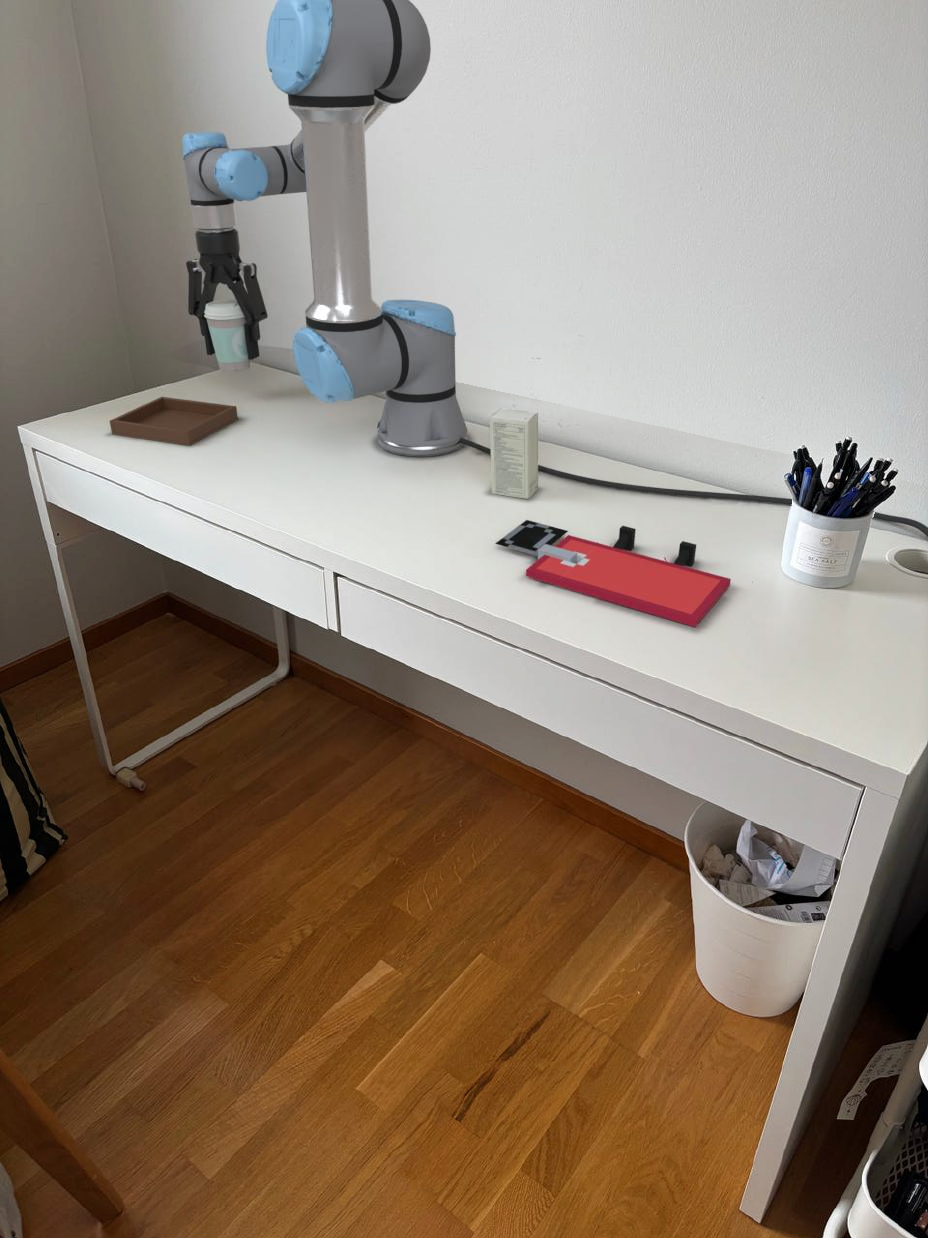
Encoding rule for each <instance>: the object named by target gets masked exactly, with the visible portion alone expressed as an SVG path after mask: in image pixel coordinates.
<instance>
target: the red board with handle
mask: <svg viewBox="0 0 928 1238" xmlns="http://www.w3.org/2000/svg"><path fill="white" fill-rule="evenodd" d="M568 532H569V530H567V529H562V528H558V527H555V526H551V525H547V524H544V523H540V522H536V521H533V520H528V519H525V520H524V521H522V523H521V524H519V525H518V526H516V527H515V528H514V529H512V530H511V531H510V532H508V533H507V534H506V535H504V536H503V537H502V538H500V539H499V540H498V541H496V542H495V543H494V544H495V545H497V546H502V547H505V548H507V549H511V550H515V551H519V552H522V553H526V554H529V555H532V556H536V557H537V560H536V561H535V562H533V563H532V564H531V565H530V566H528V567H527V568H526V569H525V577H527V578H531V579H533V580H536V581H541V582H544V583H547V584H550V585H554V586H557V587H561V588H564V589H567V590H571V591H573V592H576V593H579V594H580V593H581V594H584V595H587V596H591V597H593V598H596V599H600V600H604V601H606V602H611V603H613V604H617V605H620V606H624V607H627V608H630V609H634V610H637V611H641V612H643V613H647V614H651V615H653V616H657V617H660V618H663V619H666V620H670V621H673V622H677V623H680V624H683V625H686V626H690V627H694V628H696V627H698V625H699V623H701V621H702V620H703V619H704V618H705V616H706V615H707V614H708V613H709V611H710V610H711V609H712V608H713V606H715V604H716V603H717V602H718V601H719V599H720V598H721V597H722V596H723V595H724V593H726V591H727V590H728V589H729V587H730V586H731V582H732V581H731V580H732V578H729V577H725V576H722V575H717V574H714V573H710V572H708V571H707V572H706V571H703V570H700V569H695V568H692V567H693V566H694V565H695V558H696V553H697V552H696V551H697V544H696V543H692V542H688V541H684V540H682V541H681V542H680V543H679V549H678V555H677V557H676V559H675V561H674V562H669V561H666V560H661V559H658V558H656V557H652V556H647V555H644V554H640V553H637V552H633V551H632V550H633V549H634V548H635V540H636V528H634V527H630V526H626V525H621V526H620V527H619V531H618V539H617V540H616V542H615V543H614V545H613V546H611V545H607V544H603V543H599V542H596V541H592V540H588V539H584V538H581V537H577V536H573V535H570V534H567V533H568ZM566 534H567V535H566ZM565 535H566V536H565ZM563 536H565V537H563ZM562 537H563V538H562ZM561 538H562V539H561ZM559 539H561V540H560V541H559V542H558V543H557V544H555V545H554V546H553V544H554V543H556V542H557V541H558V540H559Z"/></svg>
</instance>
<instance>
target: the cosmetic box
mask: <svg viewBox="0 0 928 1238" xmlns="http://www.w3.org/2000/svg"><path fill="white" fill-rule="evenodd" d="M489 437H490V438H489V439H490V440H489V441H490V442H489V444H490V449H491V455H490V477H491V478H490V479H491V480H490V481H491V484H490V485H491V494H493V495H500V496H505V497H506V496H507V497H512V498H517V499H525V500H526V499H527V500H528V499H530V498H531V497H532V496H533V495H534V494H535V493H536V491H538V489H539V471H538V465H539V412H538V411H531V410H530V411H529V410H521V409H512V408H511V409H510V408H499V409H498V410H496V411H495V412H494V413H492V414H491V415H490V416H489Z"/></svg>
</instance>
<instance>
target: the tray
mask: <svg viewBox="0 0 928 1238" xmlns="http://www.w3.org/2000/svg"><path fill="white" fill-rule="evenodd" d="M237 409H238V408H237V405H229V404H223V403H222V404H221V403H214V402H205V401H200V400H199V401H198V400H190V399H183V398H176V397H175V398H174V397H168V396H160V397H157V398H156V399H154V400H151V401H150V402H149V401H148V402H147V403H145V404H143V405H140V406H138V407H136V408H134V409H132V410H130V411H127V412H125V413H123V414H120V415H119V416H117V417H114V418H113V419H111V420H109V425H110V430H111V435H115V436H121V437H127V438H134V439H142V440H146V441H147V440H148V441H155V442H162V443H167V444H168V443H169V444H175V445H182V446H188V447H191V446H192V445H194V444H196V443H197V442H199V441H201V440H203V439H205V438H207V437H208V436H209V437H210V435H212V434H214V433H215V432H218V431H219V430H221V429H223V428H225V427H227V426H229V425H230V424H232V423H234V422H237V421H238V420H239V417H238V410H237Z"/></svg>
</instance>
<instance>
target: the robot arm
mask: <svg viewBox="0 0 928 1238" xmlns="http://www.w3.org/2000/svg"><path fill="white" fill-rule="evenodd" d="M265 42H266V43H265V44H266V45H265V48H266V49H265V50H266V51H265V52H266V61H267V68H268V71H269V72H270V73H271V80H272V82H273V84H274V85H275V87H276V88H277V89H278V90H279V91H281V92H283V93H284V94H286V95H287V103H288V108H289V109H290V110H291V111H292V112H293V113H294V114H295V116H297V118H298V119H299V121H300V125H301V130H300V131H298V133H297V134H296V136H295V137H294V138H293V139H292V140H291V142H290V143H289V144H281V145H270V146H256V147H242V148H229V146H228V141H227V137H226V136H225V134H224V133H223V132H219V131H197V132H195V131H194V132H187V133H184V135H183V136H182V139H181V141H182V143H181V144H182V153H183V155H182V159H183V162H184V167H185V175H186V180H187V187H188V193H189V200H190V208H191V216H192V223H193V227H194V228H195V229H196V231H195V233H194V235H195V243H196V248H197V252H198V253H199V259H197V258H194V259H191V260H187V261H186V262H185V267H186V269H187V273H188V297H187V299H188V300H187V301H188V302H187V303H188V305H187V307H188V309H187V312H188V315H190V316H194V317H196V318H197V319H198V322H199V329H200V330H199V331H200V334H201V336H202V337H204V342H205V349H206V356H212V355H215V350H214V346H213V342H212V338H211V334H210V330H209V327H208V323H207V319H206V317H205V316H204V315H205V313H204V311H205V308H206V304H207V303H209V302H212V301H215V296H216V291H217V288H218V286H219V284H222V285H225V286H226V287H227V288H228V289H229V290H230V291H231V292H232V294H233V297H234V299H236V300H237V302H238V304H239V306H240V308H241V310H242V312H243V314H244V316H245V318H246V320H247V323H245V324H244V330H245V338H246V345H247V353H248V360H250V361H253V360H254V359H257V358H259V357H260V348H259V341H260V340H261V331H260V322H262V321H264V320H266V319H268V316H269V315H268V311H267V308H266V303H265V301H264V297H263V295H262V291H261V286H260V284H259V280H258V276H257V274H258V273H257V272H258V271H257V270H258V268H257V267H258V266H257V264H256V263H255V262H252V263H247V262H243V260H242V258H241V257H240V256H241V255H240V250H241V245H240V237H239V231H238V230H237V229H236V228H235V227H237V226H238V223H237V222H238V221H237V213H236V206H235V201H237V202H244V201H245V202H252V201H255V200H257V199H258V198H261V197H270V196H278V195H287V194H288V195H289V194H300V193H306V204H307V217H308V231H309V233H308V234H309V244H310V246H309V247H310V257H311V272H312V284H313V285H312V286H313V296H314V299H313V301H312V302H311V304H310V305H309V306H308V307H306V309H305V311H304V313H305V323H306V324H305V327H301V328H300V329H298V330H297V331H296V332H295V333H294V336H293V337H294V338H292V355H293V360H294V363H295V367H296V369H297V372H298V374H299V376H300V378H301V380H302V382H303V383H304V385H305V387H306V389H307V390H308V391H309V393H310V394H311V395H313V396H314V397H315V398H316V399H317V400H318V401H320V402H322V403H325V404H334V403H340V402H351V401H353V400H355V399H359V398H364V397H367V396H372V395H375V394H381V393H383V392H385V394H386V397H385V403H384V407H383V411H382V415H381V418H380V420H379V421H378V422H377V428H376V429H378V430H377V443H378V446H379V447H380V448H381V449H382V450H384V451H386V452H388V453H391V454H393V455H394V454H395V455H399V456H403V457H404V456H405V457H420V458H421V457H435V456H440V455H445V454H451V453H453V452H456V451H458V450H461V449H462V448H463V447H464V446H468V447H470V448H472V449H475V450H477V451H479V452H482V453H485V454H487V455H490V456H491V448H489V447H486V446H484V445H481V444H479V443H477V442H474V441H472V440H469V439H468V427H467V425H466V421H465V419H464V416H463V413H462V410H461V408H460V404H459V401H458V398H457V389H456V388H457V387H456V385H457V383H456V337H457V333H456V327H455V317H454V313H453V311H452V310H451V309H450V308H449V307H447V306H445V305H444V304H441V303H438V302H437V303H436V302H433V301H432V302H431V301H425V300H417V299H389V300H388V299H387V300H385V301H383V302H382V303H381V305H379V304H378V303H377V302H376V301H375V300H374V299H373V295H372V293H373V292H372V291H373V290H372V271H371V249H370V248H371V247H370V244H371V243H370V225H369V223H370V222H369V202H368V201H369V200H368V180H367V179H368V176H367V175H368V174H367V153H366V132H367V131H368V130H369V129H370V128H372V126H373V124H375V122H376V121H378V119H379V118H380V117H381V116H382V115H383V114H384V112H386V111H387V110H388V108H389V107H390V106H391V105H398V104H401V103H402V102H405V101H406V100H407V99H408V98H409V97H410V96H411V94H413V92H414V91H415V90H416V89H417V88H418V86H419V85H420V84H421V82H422V81H423V80H424V77H425V75H426V73H427V70H428V68H429V65H430V60H431V52H432V49H431V48H432V47H431V37H430V33H429V28H428V25H427V24H426V21H425V19H424V17H423V15H422V13H421V12H420V10H419V9H418V8H417V7H416V5H415V4H414V3H412V2H411V0H277V1H276V2H275V4H274V6H273V10H272V11H271V14H270V16H269V20H268V25H267V30H266V41H265ZM203 272H204V273H205V274H204V279H203ZM240 273H241V274H240ZM241 275H242V276H243V277H242V276H241ZM538 472H541V473H544V474H547V475H551V476H555V477H558V478H562V479H566V480H570V481H574V482H580V483H584V484H588V485H594V486H600V487H604V488H605V487H606V488H612V489H616V490H617V489H618V490H624V491H630V492H631V491H632V492H639V493H649V494H656V495H657V494H658V495H668V496H679V497H680V496H681V497H691V498H693V497H695V498H704V499H705V498H706V499H718V500H730V501H745V502H755V503H756V502H758V503H769V504H778V505H789V506H792V505H791V504H792V499H793V498H786V497H778V496H777V497H776V496H766V495H755V494H754V495H753V494H741V493H729V492H714V491H701V490H689V489H688V490H687V489H676V488H665V487H654V486H645V485H637V484H628V483H623V482H615V481H608V480H603V479H597V478H592V477H586V476H581V475H578V474H573V473H568V472H565V471H561V470H557V469H554V468H550V467H547V466H544V465H540V464H538ZM874 512H875V514H874V517H873V518H872V519H876V520H880V521H885V522H889V523H896V524H902V525H906V526H910V527H912V528H915V529H917V530H918V531H920V532H922V533H923V534H924V535H925V536H926V537H927V538H928V526H927V525H925V524H924V523H922V522H920V521H918V520H915V519H912V518H908V517H903V516H898V515H891V514H885V513H882V512H877V511H874Z"/></svg>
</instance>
